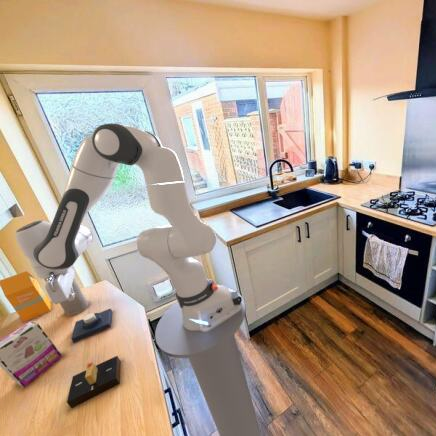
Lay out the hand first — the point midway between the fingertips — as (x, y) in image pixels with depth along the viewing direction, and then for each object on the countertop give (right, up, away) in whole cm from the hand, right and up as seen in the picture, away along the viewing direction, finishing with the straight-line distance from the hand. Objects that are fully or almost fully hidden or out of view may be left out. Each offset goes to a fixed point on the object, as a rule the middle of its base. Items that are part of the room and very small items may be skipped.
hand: (72, 298), depth 89 cm
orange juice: (-34, -13, +21) cm, 42 cm away
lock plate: (+20, -22, -13) cm, 32 cm away
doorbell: (+1, -14, +9) cm, 17 cm away
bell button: (0, -11, +8) cm, 14 cm away
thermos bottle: (-15, -11, +20) cm, 28 cm away
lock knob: (+19, -20, -14) cm, 31 cm away
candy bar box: (-5, -22, -7) cm, 24 cm away
